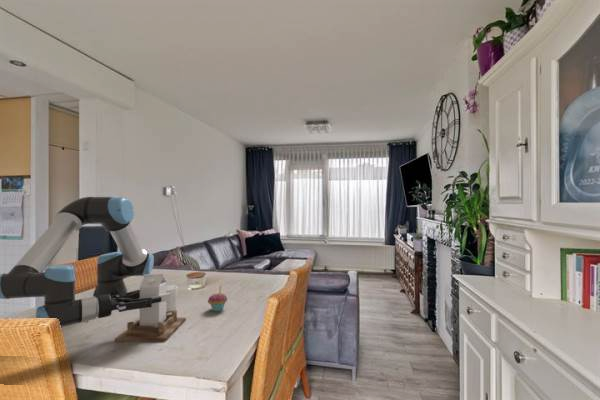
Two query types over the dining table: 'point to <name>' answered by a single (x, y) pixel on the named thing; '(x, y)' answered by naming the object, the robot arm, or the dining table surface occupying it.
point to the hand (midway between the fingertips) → (165, 293)
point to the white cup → (171, 297)
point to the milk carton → (149, 288)
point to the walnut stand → (152, 330)
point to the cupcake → (217, 301)
